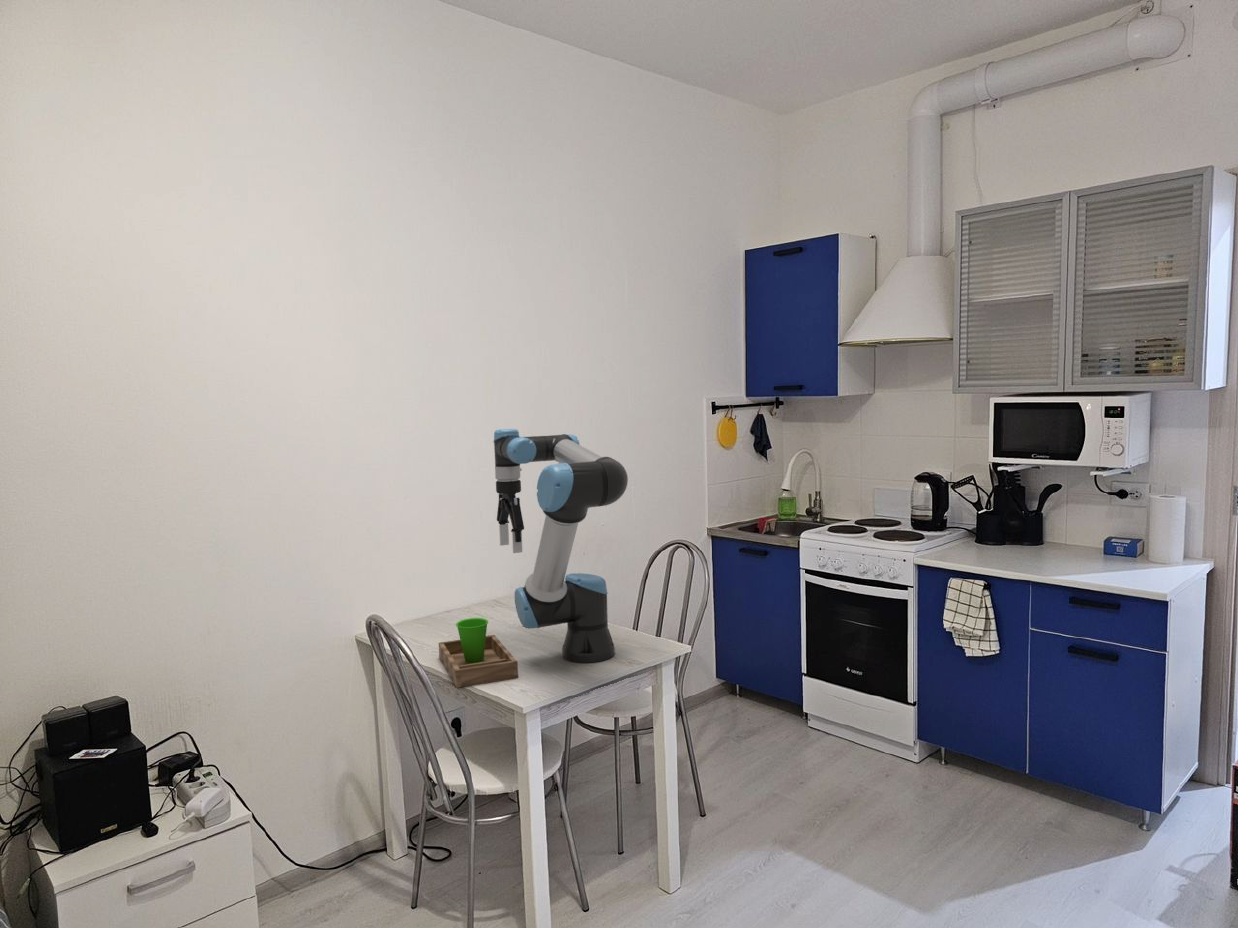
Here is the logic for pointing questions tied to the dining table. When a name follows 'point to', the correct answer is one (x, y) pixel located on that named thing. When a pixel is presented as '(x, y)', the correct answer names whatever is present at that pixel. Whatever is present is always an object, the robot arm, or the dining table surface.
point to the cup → (473, 638)
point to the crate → (491, 669)
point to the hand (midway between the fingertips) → (510, 548)
